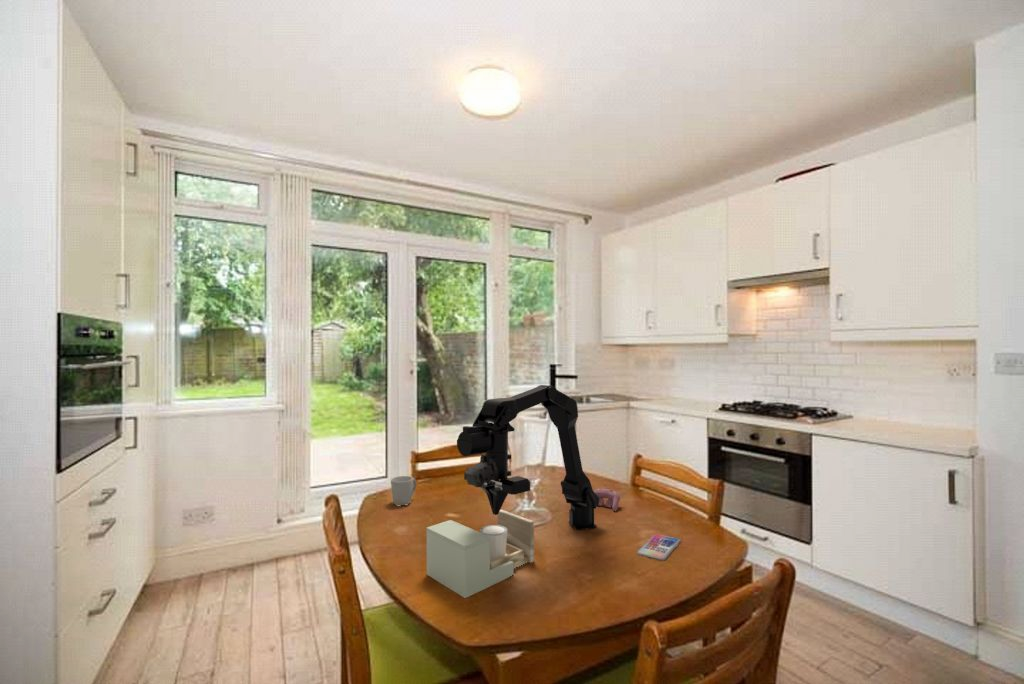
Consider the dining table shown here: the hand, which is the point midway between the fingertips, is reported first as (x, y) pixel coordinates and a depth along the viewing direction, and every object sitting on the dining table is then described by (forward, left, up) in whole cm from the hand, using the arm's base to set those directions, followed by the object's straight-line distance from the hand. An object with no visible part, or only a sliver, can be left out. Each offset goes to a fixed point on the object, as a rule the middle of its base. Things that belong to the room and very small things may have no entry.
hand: (495, 514), depth 115 cm
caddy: (+7, +4, -12) cm, 15 cm away
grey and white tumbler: (+1, 0, -11) cm, 11 cm away
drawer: (-1, 0, -12) cm, 12 cm away
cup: (+19, -53, -12) cm, 58 cm away
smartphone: (-44, +4, -13) cm, 46 cm away
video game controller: (-44, -29, -12) cm, 54 cm away
